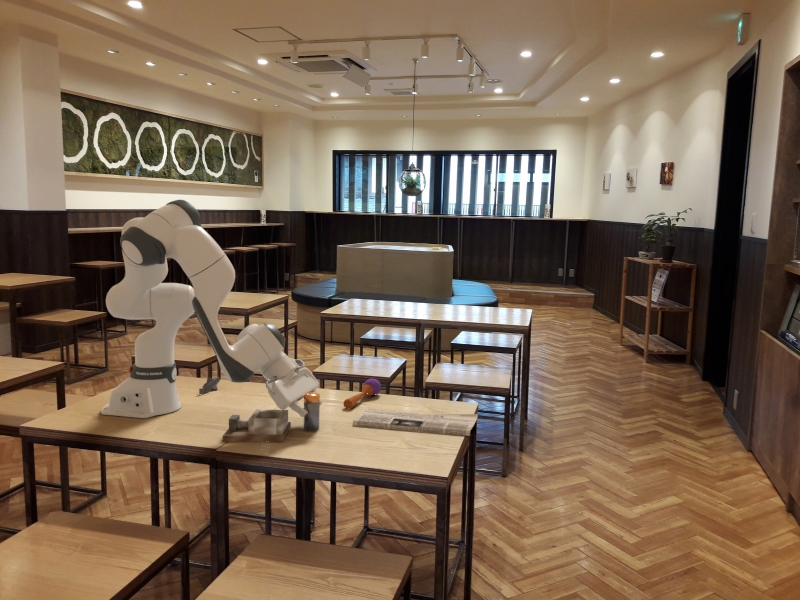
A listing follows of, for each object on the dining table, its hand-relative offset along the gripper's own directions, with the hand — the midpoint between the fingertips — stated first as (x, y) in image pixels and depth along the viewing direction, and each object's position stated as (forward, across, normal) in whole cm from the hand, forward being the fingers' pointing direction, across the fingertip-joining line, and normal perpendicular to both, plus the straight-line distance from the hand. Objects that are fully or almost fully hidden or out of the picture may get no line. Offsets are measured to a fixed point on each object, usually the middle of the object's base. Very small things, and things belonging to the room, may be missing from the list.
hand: (312, 410), depth 170 cm
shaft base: (-5, -9, +13) cm, 16 cm away
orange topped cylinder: (+4, 0, +4) cm, 6 cm away
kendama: (+7, +31, +2) cm, 32 cm away
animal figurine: (-31, +23, +39) cm, 55 cm away
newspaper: (+23, +15, -14) cm, 31 cm away
